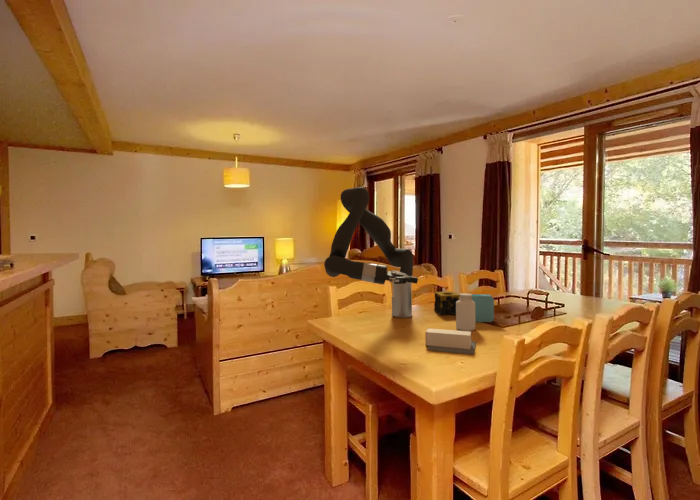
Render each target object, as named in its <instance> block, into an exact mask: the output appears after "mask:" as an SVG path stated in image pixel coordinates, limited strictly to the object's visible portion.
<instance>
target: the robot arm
mask: <svg viewBox="0 0 700 500" xmlns="http://www.w3.org/2000/svg"><path fill="white" fill-rule="evenodd" d="M340 201H341V205H342V206H343V208H344V209H345V210H346V211H347V212H348V213H349V214H347V217H346V218H345V219H344V220H343V222H342V223H341V224H340V225H339V226H338V229H336V232H335V234H334V236H333V239H332V242H331V246H330V253H329V256H328V257H327V258H325V261H324V263H323V265H324V270H325V273H326V274H327V276H329V277H331V278H335V277H337V276H338V277H339V275H344V276H347V277H348V278H350V279H352V280H353V279H354V280H359V281H364V282H367V283H374V284H378V285H385V283H386V281H389V282H390V283H392V296H391V317H394V316H395V317H396V318H410V317H412V316H413V306H412V305H413V303H412V302H413V301H412V300H413V298H412V295H413V294H412V290H413V289H412V284H418V281H419V279H418V277H417V276H413V271H414V255H413V252H412V249H409V248H397V247H396V246H395V244H393V242H392V232H391V229H390V227H389V226H388V224H387V223H386V222H385V220H383V219H382V218H381V217H380V216H378V215H377V214H375V213H373V212H371V211H370V210H368V209H367V207H368V205H369V202H370V193H369V191H368V189H367V188H365V187H363V186H362V187H361V186H359V187H351V188H347V189H344V190H343V191H342V192H341V194H340ZM358 225H360V226H361V227H362V228H363V229H364V230H365V231H366V233H367V234H368V236H369V237H370V238H371V240H373V241H374V243H375V244H376V245H377V246H378V248H379V249H380V250H381V252H382V253H383V254H384V257H385V258H386V260H387V262H388V263H389V264H390V265H391V266H392V267H395V268H400V269H399V270H395V269H394V270H391V271H390V270H388V266H387V265H384V264H378V263H371V262H361V261H357V260H356V261H355V260H351V259H349V258H346V256H347V253H348V252H349V248H350V245H351V242H352V239H353V236H354V233H355V231H356V229H357V228H358Z"/></svg>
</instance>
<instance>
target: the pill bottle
mask: <svg viewBox="0 0 700 500" xmlns="http://www.w3.org/2000/svg"><path fill="white" fill-rule="evenodd" d="M458 294H459V299H460V300H458V301H457V302H456V315H455V328H456V330H458V331H469V332H473V331H474V330H475V329H476V322H475V302H474V301H472V300H471V299H472V293H467V292H466V293H465V292H464V293H461V292H460V293H458Z"/></svg>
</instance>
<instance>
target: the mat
mask: <svg viewBox="0 0 700 500" xmlns="http://www.w3.org/2000/svg"><path fill="white" fill-rule="evenodd" d="M476 344H477V341H476V340H471V348H470V349H463V348H452V347H441V346H430V345H428V348H427V351H428V350H433V351H432V352H439V351H442V353H449V352H452V354H460V353H462V355H470V354H474V355H475V352H474V351H476Z"/></svg>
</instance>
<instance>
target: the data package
mask: <svg viewBox="0 0 700 500" xmlns="http://www.w3.org/2000/svg"><path fill="white" fill-rule="evenodd" d="M471 294H472V293H471ZM471 300H472V301H474V302H475V323H493V322H494V320H495V311H494V310H495V299H494V297H493V296H492V295H491V294H489V293H488V294H485V293H483V294H481V293H479V294H478V293H477V294H476V293H475V294H472V299H471Z"/></svg>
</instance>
